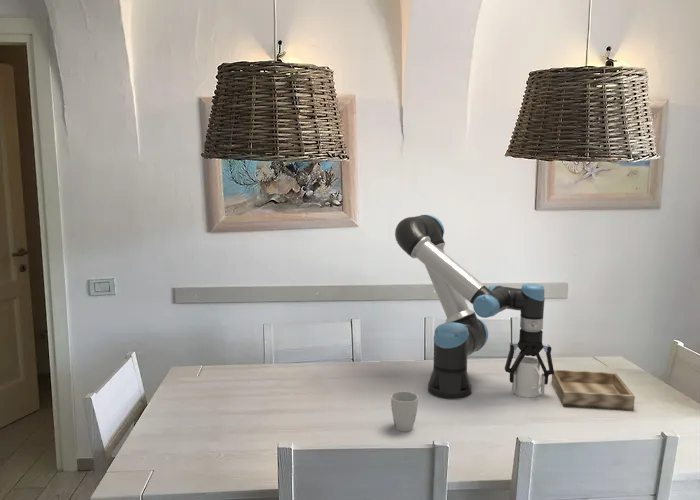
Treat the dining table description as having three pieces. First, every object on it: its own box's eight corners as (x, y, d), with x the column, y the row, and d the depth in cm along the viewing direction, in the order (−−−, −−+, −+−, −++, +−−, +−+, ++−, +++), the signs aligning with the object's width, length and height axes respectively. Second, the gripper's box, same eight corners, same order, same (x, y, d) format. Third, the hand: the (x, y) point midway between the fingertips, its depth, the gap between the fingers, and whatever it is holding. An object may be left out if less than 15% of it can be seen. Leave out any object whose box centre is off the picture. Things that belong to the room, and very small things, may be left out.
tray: (563, 406, 200) (564, 392, 199) (551, 382, 222) (552, 369, 221) (633, 410, 197) (634, 396, 196) (614, 386, 218) (615, 372, 218)
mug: (549, 399, 206) (551, 366, 204) (527, 402, 204) (528, 368, 202) (530, 387, 217) (531, 355, 215) (508, 389, 215) (510, 357, 213)
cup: (400, 419, 190) (401, 389, 188) (422, 427, 185) (423, 395, 183) (385, 428, 184) (385, 397, 182) (407, 436, 179) (408, 404, 177)
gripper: (499, 330, 205) (497, 394, 208) (566, 333, 202) (562, 398, 205) (497, 324, 212) (495, 386, 216) (562, 327, 209) (558, 390, 212)
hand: (527, 392), depth 210 cm, fingers open, 9 cm apart
